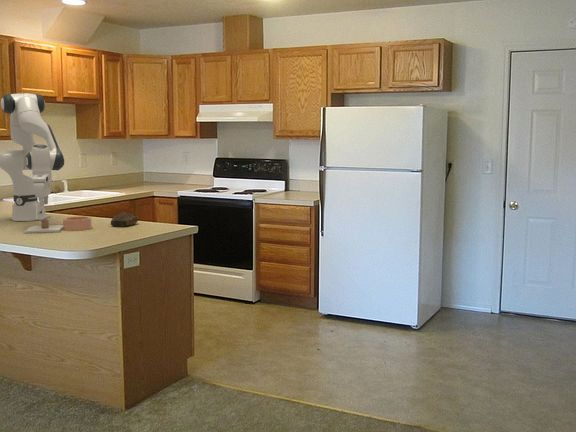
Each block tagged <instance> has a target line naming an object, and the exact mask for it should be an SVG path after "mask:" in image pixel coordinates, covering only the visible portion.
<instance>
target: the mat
mask: <svg viewBox="0 0 576 432" xmlns="http://www.w3.org/2000/svg"><path fill="white" fill-rule="evenodd" d="M63 231H64V228H63V229H62V230H61V231H60V232H41V233H40V234H47V233H49V234H51V233H61V232H63ZM22 234H23V235H24V234H26V235H27V234H30V233H25V232H24V233H22Z"/></svg>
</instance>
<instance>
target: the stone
mask: <svg viewBox="0 0 576 432" xmlns="http://www.w3.org/2000/svg"><path fill="white" fill-rule="evenodd" d="M138 221H139V218H138V216H136V215H135V214H132V213H129V212H128V213H127V212H123V211H122V212H120V213H118V214H117V215H114V216H113V217H112V218H111V220H110V225H111V226H112V227H115V228H123V227H127V226H128V227H129V226H132V225H134V224H136V223H138Z"/></svg>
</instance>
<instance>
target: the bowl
mask: <svg viewBox="0 0 576 432" xmlns="http://www.w3.org/2000/svg"><path fill="white" fill-rule="evenodd" d="M92 221H93V220H92V217H91V216H86V215H85V216H83V215H82V216H78V215H77V216H68V217H64V218H62V222H63V223H62V225H63V228H64V229H63V231H66V232H67V231H68V232H81V231H82V232H83V231H90V230H91V229H93V224H92Z"/></svg>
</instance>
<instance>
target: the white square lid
mask: <svg viewBox="0 0 576 432" xmlns="http://www.w3.org/2000/svg"><path fill="white" fill-rule="evenodd" d="M49 220H50V219H48V218H45V219H43V220H40V222H41V224H40V225H31V226H30V227H28V228H27V229H26V230H24V233H29V234H42V233H41V232H58V233H61V232H62V231H63V230H64V229H63V224H50V222H49ZM62 229H63V230H62ZM61 230H62V231H61ZM60 231H61V232H60Z"/></svg>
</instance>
